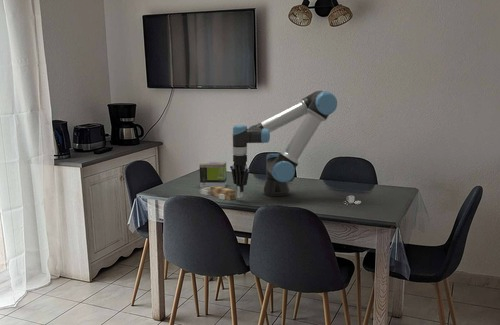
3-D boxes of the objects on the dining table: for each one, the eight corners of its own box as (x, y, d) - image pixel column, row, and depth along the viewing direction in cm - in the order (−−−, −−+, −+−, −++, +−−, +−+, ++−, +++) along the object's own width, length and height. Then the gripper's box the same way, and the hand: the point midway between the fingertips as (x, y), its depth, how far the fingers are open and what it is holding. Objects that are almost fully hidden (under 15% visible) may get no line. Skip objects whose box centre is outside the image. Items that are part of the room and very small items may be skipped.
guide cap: (234, 196, 275) (234, 192, 274) (223, 199, 269) (223, 195, 268) (229, 195, 278) (229, 191, 277) (218, 198, 272) (218, 194, 271)
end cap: (217, 192, 284) (217, 188, 284) (206, 195, 278) (206, 191, 278) (210, 190, 288) (210, 186, 288) (199, 193, 282) (199, 189, 282)
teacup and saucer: (363, 204, 260) (363, 197, 260) (352, 206, 256) (352, 199, 255) (351, 201, 268) (351, 193, 267) (340, 203, 263) (340, 195, 263)
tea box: (227, 184, 304) (226, 161, 301) (224, 188, 294) (224, 164, 291) (202, 184, 305) (202, 160, 302) (199, 188, 295) (199, 164, 293)
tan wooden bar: (235, 199, 271) (235, 190, 271) (229, 200, 269) (229, 191, 268) (215, 194, 282) (215, 185, 282) (210, 195, 280) (210, 186, 279)
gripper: (253, 154, 260) (253, 198, 264) (236, 152, 269) (236, 194, 273) (243, 156, 254) (244, 201, 259) (226, 153, 263) (226, 196, 268)
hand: (240, 197), depth 266 cm, fingers closed
